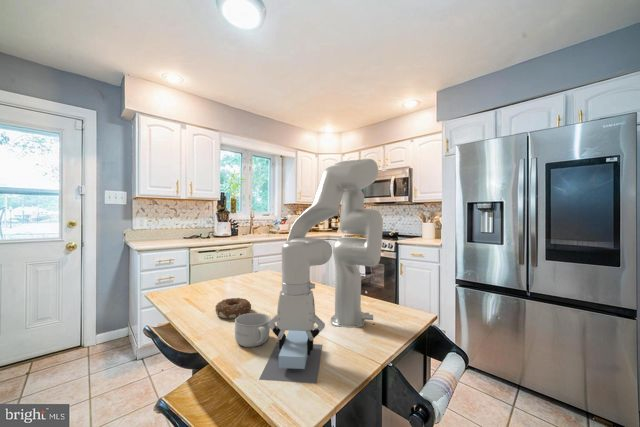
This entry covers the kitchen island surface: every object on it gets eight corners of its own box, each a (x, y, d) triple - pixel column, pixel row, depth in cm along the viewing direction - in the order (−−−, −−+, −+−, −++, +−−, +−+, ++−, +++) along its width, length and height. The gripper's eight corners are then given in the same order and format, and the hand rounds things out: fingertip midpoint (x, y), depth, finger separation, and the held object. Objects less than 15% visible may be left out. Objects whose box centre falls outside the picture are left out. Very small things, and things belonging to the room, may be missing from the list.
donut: (207, 316, 103) (207, 304, 103) (232, 305, 115) (232, 294, 115) (235, 324, 97) (235, 310, 97) (259, 311, 109) (259, 299, 109)
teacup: (232, 339, 85) (232, 314, 85) (266, 332, 90) (266, 309, 89) (238, 361, 72) (239, 332, 72) (277, 353, 77) (277, 326, 77)
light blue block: (311, 339, 79) (311, 330, 79) (304, 369, 65) (304, 357, 65) (289, 339, 80) (289, 329, 80) (278, 367, 66) (278, 356, 66)
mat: (322, 347, 80) (322, 344, 80) (316, 387, 62) (316, 383, 62) (277, 345, 81) (277, 342, 81) (258, 383, 63) (258, 379, 63)
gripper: (328, 283, 75) (328, 345, 76) (268, 282, 76) (269, 343, 77) (327, 292, 67) (327, 361, 68) (260, 291, 69) (261, 358, 69)
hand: (296, 351), depth 72 cm, fingers closed on light blue block, 6 cm apart
